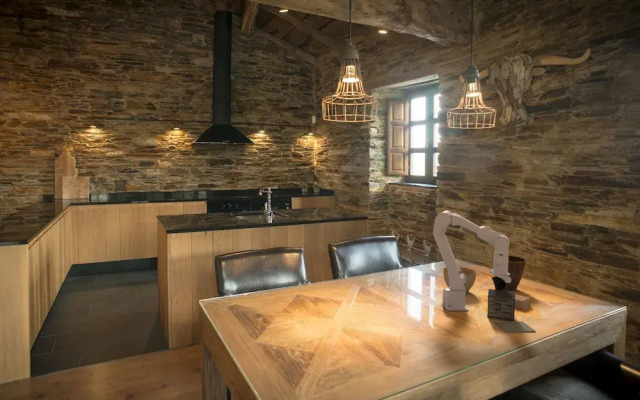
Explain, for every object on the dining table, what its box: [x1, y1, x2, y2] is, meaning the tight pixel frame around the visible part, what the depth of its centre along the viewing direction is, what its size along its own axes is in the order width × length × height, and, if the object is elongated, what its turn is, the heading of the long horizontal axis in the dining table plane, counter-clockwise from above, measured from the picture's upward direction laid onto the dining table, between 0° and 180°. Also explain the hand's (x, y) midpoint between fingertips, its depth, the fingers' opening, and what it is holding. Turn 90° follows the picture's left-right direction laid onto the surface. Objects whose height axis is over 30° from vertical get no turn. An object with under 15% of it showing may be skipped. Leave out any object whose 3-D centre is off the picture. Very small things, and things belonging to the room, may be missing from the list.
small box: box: [486, 288, 516, 321], centre depth 176 cm, size 11×6×10 cm, turn 65°
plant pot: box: [504, 255, 527, 292], centre depth 216 cm, size 15×15×16 cm
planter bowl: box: [442, 266, 478, 294], centre depth 210 cm, size 16×16×11 cm
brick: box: [494, 288, 531, 310], centre depth 194 cm, size 17×8×5 cm, turn 45°
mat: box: [493, 320, 536, 333], centre depth 166 cm, size 12×10×1 cm
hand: (499, 294), depth 179 cm, fingers closed
